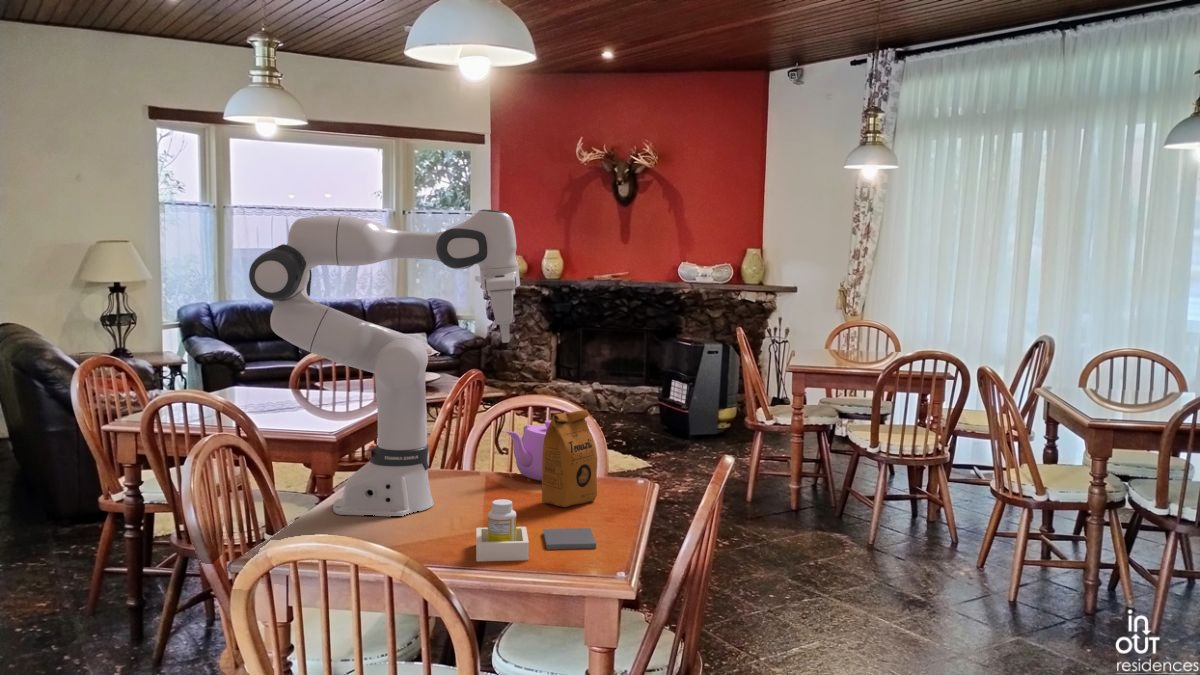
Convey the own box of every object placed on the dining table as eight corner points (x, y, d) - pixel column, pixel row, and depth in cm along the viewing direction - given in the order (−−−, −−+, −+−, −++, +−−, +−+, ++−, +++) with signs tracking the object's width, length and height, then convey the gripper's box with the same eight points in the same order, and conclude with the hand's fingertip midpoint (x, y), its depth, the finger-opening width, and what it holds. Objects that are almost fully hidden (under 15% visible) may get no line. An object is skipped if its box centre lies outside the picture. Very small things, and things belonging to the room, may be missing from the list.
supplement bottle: (502, 545, 182) (502, 496, 181) (521, 552, 179) (522, 501, 178) (481, 552, 178) (482, 501, 177) (501, 559, 174) (501, 507, 173)
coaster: (546, 549, 180) (546, 544, 180) (543, 533, 190) (543, 529, 190) (596, 548, 182) (596, 543, 182) (590, 532, 192) (590, 528, 192)
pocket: (476, 561, 173) (476, 543, 172) (476, 544, 183) (476, 527, 182) (528, 560, 174) (528, 542, 174) (525, 543, 184) (525, 526, 184)
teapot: (548, 463, 253) (549, 410, 251) (595, 479, 236) (597, 422, 235) (479, 475, 238) (479, 419, 237) (524, 492, 222) (524, 432, 221)
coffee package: (603, 502, 215) (605, 411, 212) (562, 512, 206) (564, 417, 204) (575, 493, 222) (577, 405, 220) (536, 502, 214) (537, 411, 211)
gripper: (487, 279, 216) (492, 336, 218) (485, 283, 196) (491, 346, 198) (513, 277, 217) (518, 334, 219) (514, 281, 197) (520, 343, 198)
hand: (505, 340), depth 208 cm, fingers open, 8 cm apart
